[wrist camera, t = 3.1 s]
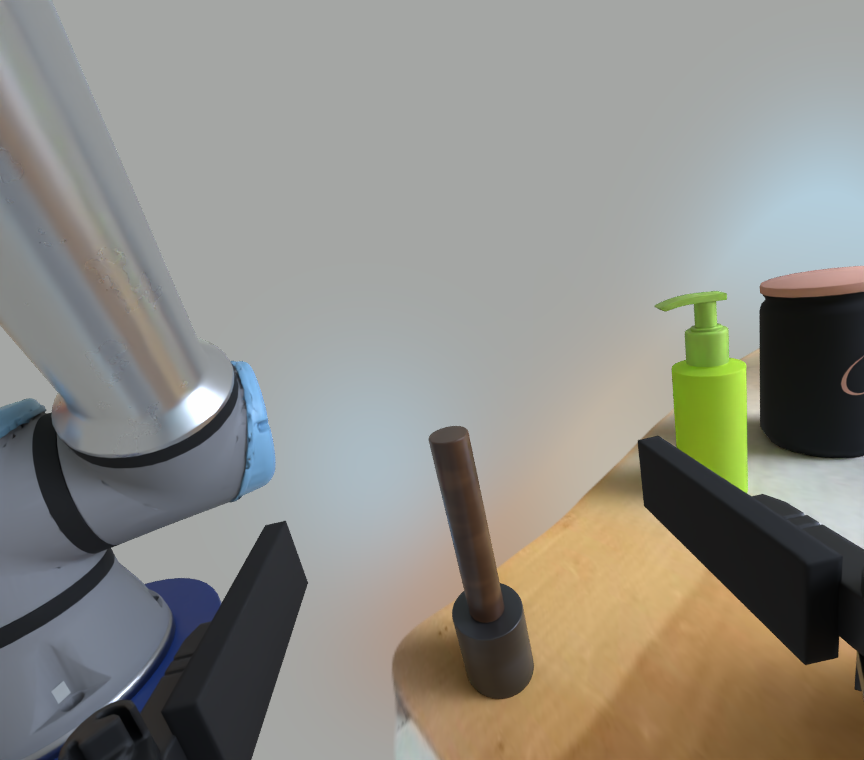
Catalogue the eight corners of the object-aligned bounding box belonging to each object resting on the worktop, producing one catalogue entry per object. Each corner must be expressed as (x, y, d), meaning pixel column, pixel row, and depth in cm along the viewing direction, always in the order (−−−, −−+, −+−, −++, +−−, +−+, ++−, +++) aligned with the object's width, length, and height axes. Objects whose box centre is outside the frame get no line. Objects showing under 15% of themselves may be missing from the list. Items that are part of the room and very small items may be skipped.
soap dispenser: (660, 475, 47) (646, 297, 41) (729, 469, 45) (725, 283, 40) (680, 506, 41) (668, 305, 36) (760, 500, 39) (760, 289, 34)
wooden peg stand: (471, 706, 27) (408, 460, 22) (461, 642, 32) (408, 428, 27) (543, 690, 27) (495, 441, 22) (523, 628, 32) (480, 411, 27)
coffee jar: (855, 472, 40) (867, 286, 36) (739, 439, 50) (736, 290, 45) (912, 435, 44) (930, 261, 39) (793, 411, 53) (796, 269, 49)
